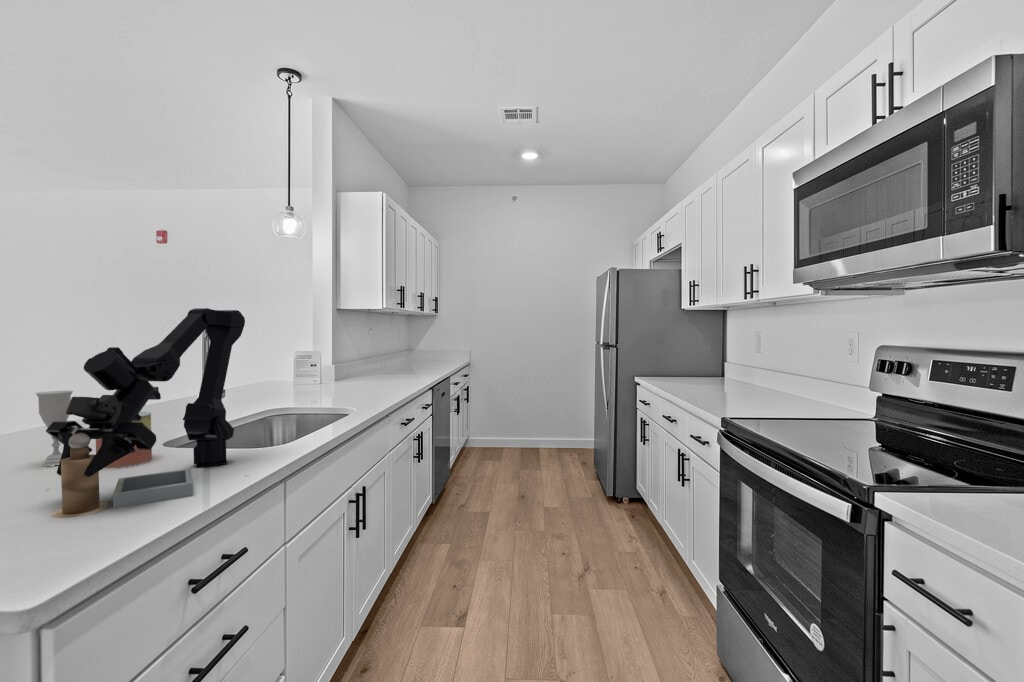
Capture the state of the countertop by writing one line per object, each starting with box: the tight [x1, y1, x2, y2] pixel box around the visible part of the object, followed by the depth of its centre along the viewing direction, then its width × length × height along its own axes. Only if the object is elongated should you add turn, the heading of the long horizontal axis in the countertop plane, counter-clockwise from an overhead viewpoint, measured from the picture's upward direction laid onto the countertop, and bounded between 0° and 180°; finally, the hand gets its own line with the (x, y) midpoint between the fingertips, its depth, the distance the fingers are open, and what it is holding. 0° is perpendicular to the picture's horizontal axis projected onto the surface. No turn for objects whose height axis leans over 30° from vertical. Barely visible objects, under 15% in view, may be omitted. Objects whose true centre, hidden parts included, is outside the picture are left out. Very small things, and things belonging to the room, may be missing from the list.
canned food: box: [95, 411, 153, 469], centre depth 126 cm, size 11×11×12 cm
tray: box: [112, 468, 194, 510], centre depth 101 cm, size 12×12×3 cm
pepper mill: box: [60, 433, 101, 515], centre depth 92 cm, size 5×5×14 cm
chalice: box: [35, 390, 74, 467], centre depth 125 cm, size 7×7×18 cm
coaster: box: [51, 501, 110, 519], centre depth 92 cm, size 8×8×1 cm
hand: (72, 475), depth 90 cm, fingers closed on pepper mill, 5 cm apart
